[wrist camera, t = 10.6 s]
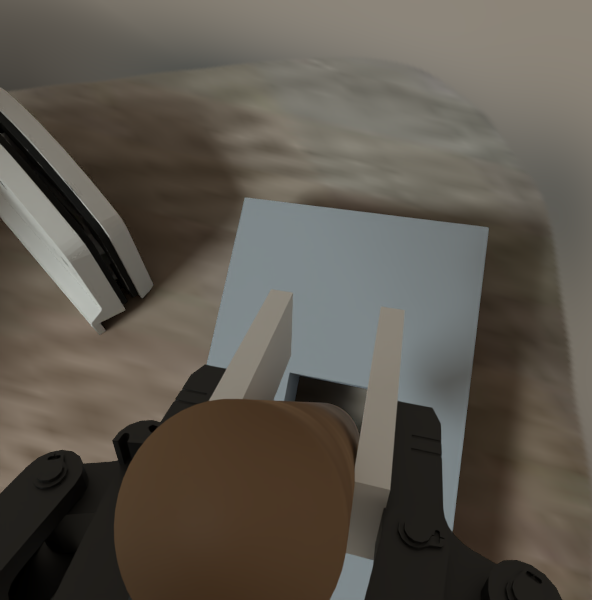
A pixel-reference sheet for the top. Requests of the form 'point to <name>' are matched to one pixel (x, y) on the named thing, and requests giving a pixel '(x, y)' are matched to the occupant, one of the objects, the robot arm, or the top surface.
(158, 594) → the peg
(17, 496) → the robot arm
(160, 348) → the top surface
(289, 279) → the hole block
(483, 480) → the top surface
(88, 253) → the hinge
